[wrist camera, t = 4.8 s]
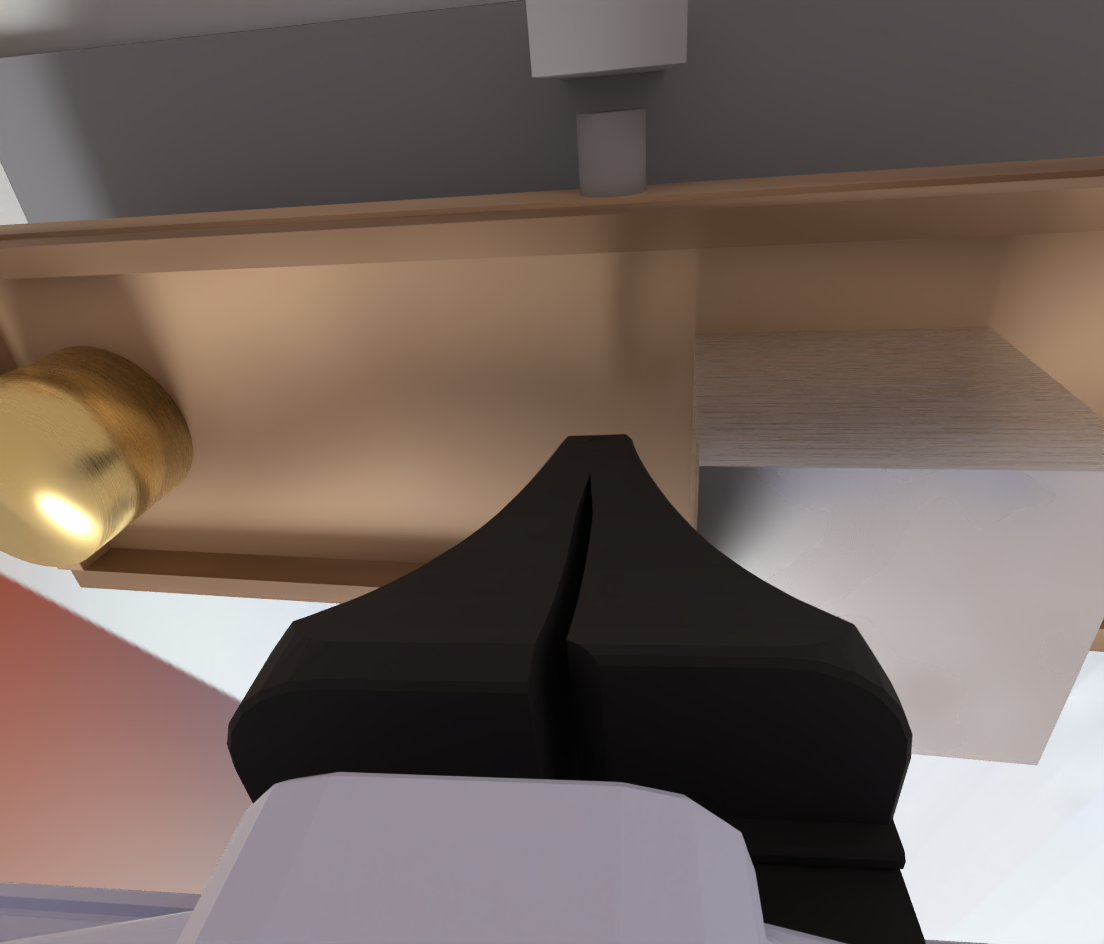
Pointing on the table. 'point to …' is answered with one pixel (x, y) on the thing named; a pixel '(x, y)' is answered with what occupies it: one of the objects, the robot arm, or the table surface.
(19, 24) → the table surface
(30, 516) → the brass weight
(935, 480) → the steel block
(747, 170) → the beam stand
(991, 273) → the beam
